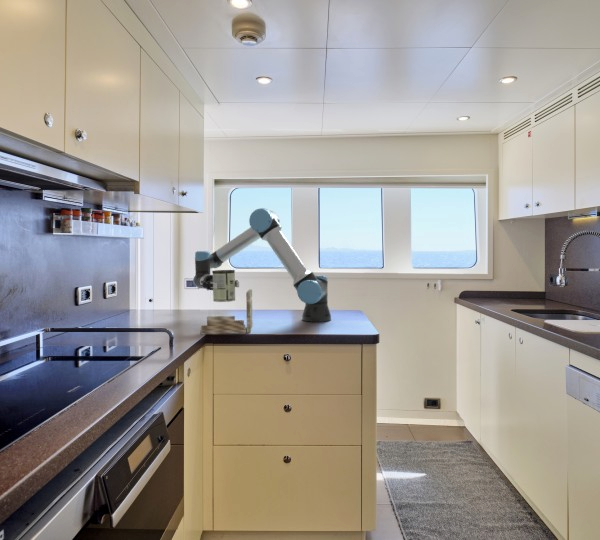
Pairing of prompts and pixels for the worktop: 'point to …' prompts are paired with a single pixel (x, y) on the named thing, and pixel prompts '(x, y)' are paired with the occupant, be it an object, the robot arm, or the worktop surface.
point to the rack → (249, 318)
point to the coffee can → (224, 285)
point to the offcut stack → (223, 323)
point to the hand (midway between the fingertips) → (227, 285)
